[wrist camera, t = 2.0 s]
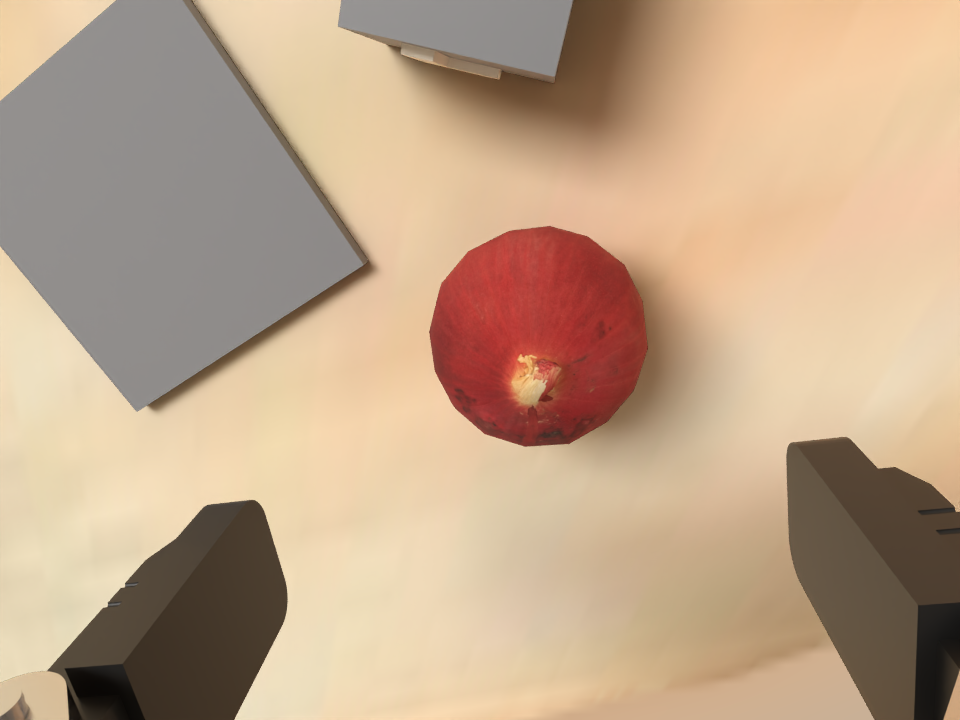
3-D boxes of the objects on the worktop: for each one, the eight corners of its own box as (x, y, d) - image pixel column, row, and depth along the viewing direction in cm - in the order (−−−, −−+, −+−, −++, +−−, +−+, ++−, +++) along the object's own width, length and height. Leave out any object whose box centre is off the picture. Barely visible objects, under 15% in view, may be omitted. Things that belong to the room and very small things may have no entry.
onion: (636, 378, 23) (676, 508, 16) (463, 392, 24) (422, 523, 16) (625, 199, 21) (665, 249, 14) (438, 221, 22) (379, 280, 14)
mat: (168, -32, 20) (157, -36, 20) (368, 261, 23) (363, 265, 22) (-55, 160, 23) (-70, 161, 22) (146, 405, 25) (136, 411, 25)
